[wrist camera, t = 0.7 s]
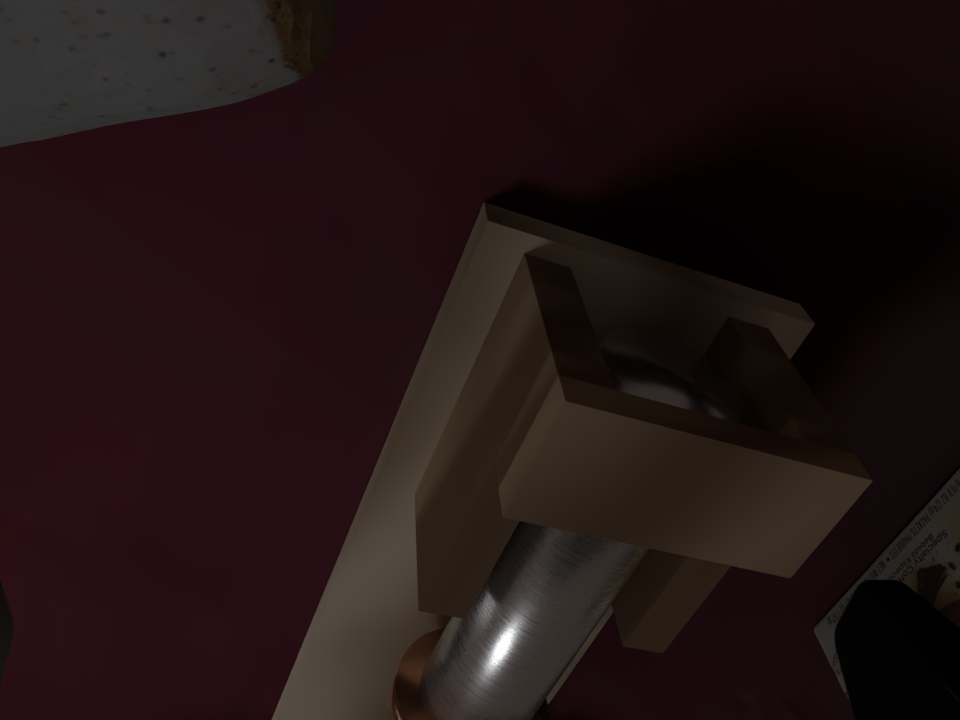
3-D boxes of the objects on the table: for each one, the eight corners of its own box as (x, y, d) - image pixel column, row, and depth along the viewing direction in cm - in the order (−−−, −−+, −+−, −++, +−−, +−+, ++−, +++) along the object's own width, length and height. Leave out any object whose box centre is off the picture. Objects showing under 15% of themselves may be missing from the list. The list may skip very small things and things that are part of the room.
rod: (729, 340, 21) (807, 470, 17) (465, 750, 31) (476, 893, 27) (556, 289, 20) (597, 417, 16) (337, 734, 29) (329, 882, 25)
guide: (799, 303, 22) (931, 474, 17) (451, 815, 36) (462, 999, 30) (483, 202, 20) (519, 364, 14) (240, 794, 33) (212, 990, 28)
